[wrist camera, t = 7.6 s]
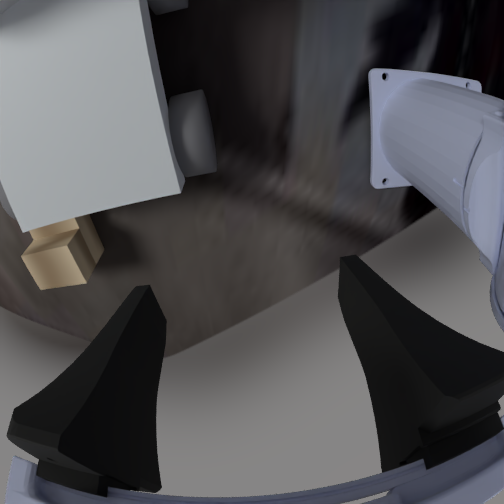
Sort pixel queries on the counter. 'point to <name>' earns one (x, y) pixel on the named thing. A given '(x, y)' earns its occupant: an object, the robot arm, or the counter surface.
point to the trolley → (91, 111)
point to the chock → (63, 253)
